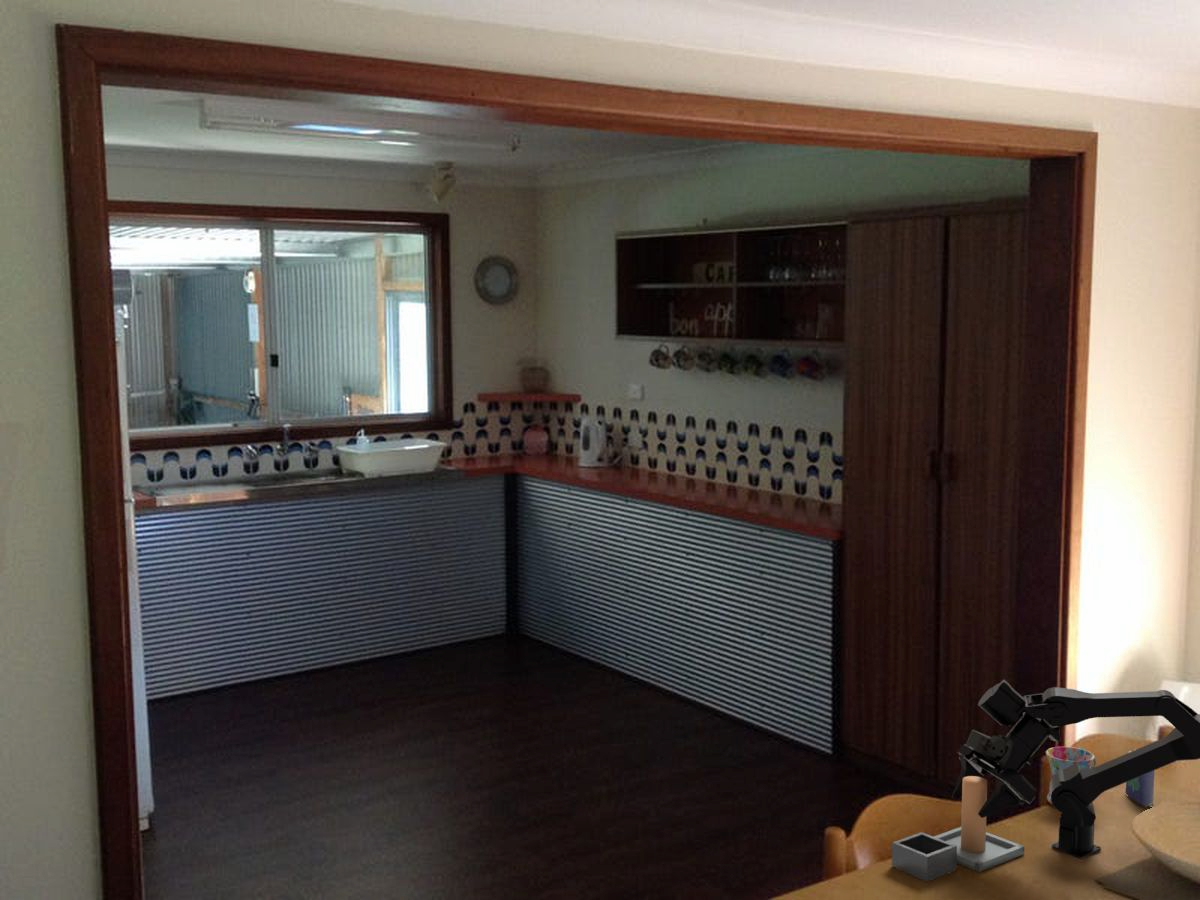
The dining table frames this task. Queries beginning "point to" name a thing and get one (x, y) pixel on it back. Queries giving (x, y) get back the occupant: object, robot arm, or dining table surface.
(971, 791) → the peg
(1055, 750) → the mug
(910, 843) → the square socket holder
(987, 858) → the tray
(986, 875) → the dining table surface
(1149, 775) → the flask
